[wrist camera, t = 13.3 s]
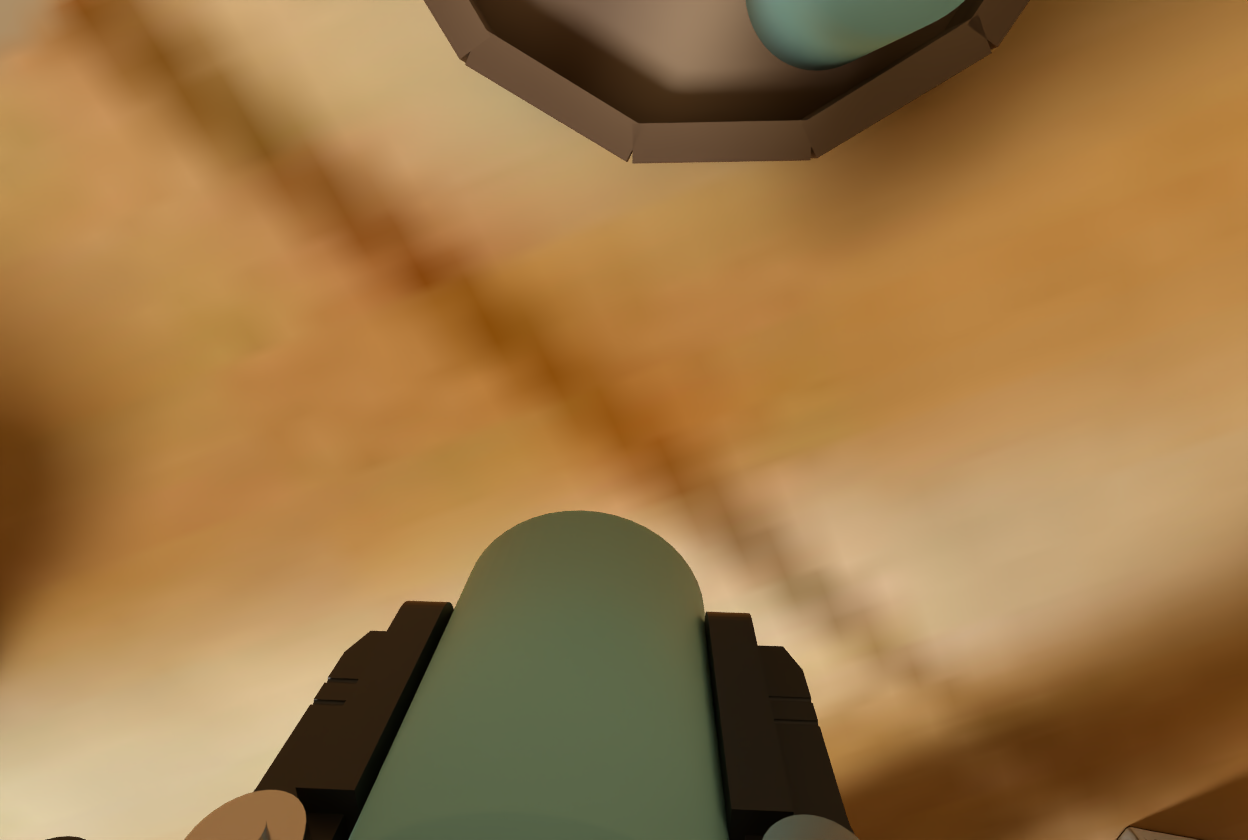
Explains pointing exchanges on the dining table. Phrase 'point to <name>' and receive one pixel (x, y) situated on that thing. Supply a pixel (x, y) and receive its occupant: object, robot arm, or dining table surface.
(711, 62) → the ring tray
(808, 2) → the bead
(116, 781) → the dining table surface
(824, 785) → the robot arm
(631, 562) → the bead
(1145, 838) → the coffee box
